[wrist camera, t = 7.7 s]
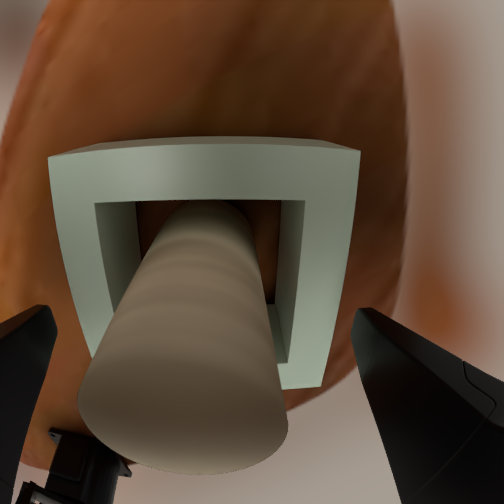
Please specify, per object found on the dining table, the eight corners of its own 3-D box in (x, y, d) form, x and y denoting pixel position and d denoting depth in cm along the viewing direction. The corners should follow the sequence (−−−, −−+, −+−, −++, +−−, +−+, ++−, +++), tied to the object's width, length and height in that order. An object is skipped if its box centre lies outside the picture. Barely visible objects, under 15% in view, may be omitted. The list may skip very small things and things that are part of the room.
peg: (252, 285, 14) (278, 473, 6) (164, 285, 14) (112, 465, 6) (255, 198, 12) (301, 357, 4) (156, 199, 12) (46, 348, 4)
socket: (302, 328, 15) (320, 386, 12) (124, 327, 15) (101, 383, 11) (321, 140, 12) (360, 151, 8) (98, 143, 11) (47, 157, 7)
